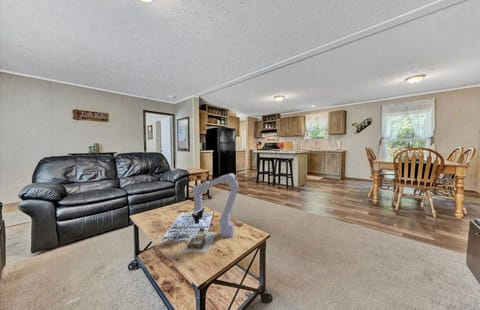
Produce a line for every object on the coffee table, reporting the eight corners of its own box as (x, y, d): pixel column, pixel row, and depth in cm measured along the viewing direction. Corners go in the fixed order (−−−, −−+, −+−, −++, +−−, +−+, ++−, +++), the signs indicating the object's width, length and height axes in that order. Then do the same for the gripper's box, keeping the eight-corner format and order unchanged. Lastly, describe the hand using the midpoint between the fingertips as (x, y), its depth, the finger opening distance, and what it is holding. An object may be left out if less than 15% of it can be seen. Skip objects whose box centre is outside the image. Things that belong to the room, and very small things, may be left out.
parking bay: (205, 242, 112) (205, 238, 112) (202, 248, 105) (202, 244, 105) (192, 241, 113) (192, 238, 112) (188, 248, 105) (188, 244, 105)
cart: (198, 235, 120) (198, 228, 120) (205, 235, 120) (205, 228, 120) (195, 240, 114) (195, 232, 114) (203, 240, 114) (203, 232, 114)
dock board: (216, 232, 125) (216, 232, 125) (208, 253, 101) (208, 252, 101) (194, 232, 126) (194, 231, 126) (181, 252, 102) (181, 251, 102)
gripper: (195, 199, 130) (196, 216, 131) (189, 206, 116) (189, 225, 117) (204, 199, 130) (205, 216, 131) (199, 206, 115) (199, 225, 116)
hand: (198, 221), depth 124 cm, fingers open, 7 cm apart
